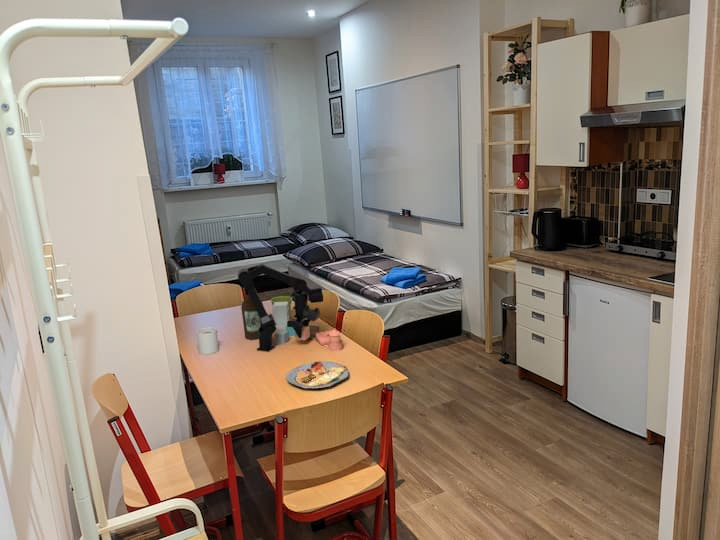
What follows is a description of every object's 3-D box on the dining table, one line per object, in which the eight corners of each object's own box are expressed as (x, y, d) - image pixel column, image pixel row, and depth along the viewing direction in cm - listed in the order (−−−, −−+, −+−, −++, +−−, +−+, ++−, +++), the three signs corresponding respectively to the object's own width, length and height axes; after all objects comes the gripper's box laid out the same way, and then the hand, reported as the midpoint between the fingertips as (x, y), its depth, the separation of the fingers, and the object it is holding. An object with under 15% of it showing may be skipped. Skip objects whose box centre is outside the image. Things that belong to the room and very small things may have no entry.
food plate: (318, 361, 238) (318, 353, 237) (360, 374, 224) (360, 366, 223) (275, 382, 220) (274, 374, 219) (317, 398, 205) (317, 390, 204)
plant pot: (270, 317, 302) (268, 297, 300) (291, 314, 306) (290, 295, 303) (273, 323, 291) (272, 303, 289) (295, 320, 295) (294, 300, 292)
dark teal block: (295, 336, 270) (294, 327, 269) (286, 335, 272) (285, 326, 271) (299, 333, 275) (299, 324, 274) (290, 332, 277) (290, 323, 275)
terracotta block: (305, 340, 256) (304, 330, 255) (295, 339, 257) (295, 329, 256) (309, 336, 260) (309, 326, 259) (300, 335, 262) (299, 325, 261)
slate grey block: (284, 344, 260) (283, 334, 259) (275, 343, 262) (274, 333, 261) (289, 341, 265) (288, 331, 264) (280, 340, 267) (279, 330, 265)
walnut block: (315, 338, 266) (315, 329, 265) (306, 338, 268) (305, 328, 267) (319, 335, 271) (319, 325, 270) (310, 334, 273) (310, 325, 272)
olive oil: (244, 334, 277) (240, 285, 271) (265, 332, 278) (262, 284, 272) (243, 341, 266) (238, 291, 261) (265, 339, 268) (261, 289, 262)
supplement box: (288, 329, 282) (286, 305, 279) (273, 329, 282) (271, 305, 279) (290, 324, 289) (288, 301, 286) (276, 324, 289) (274, 301, 286)
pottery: (315, 341, 264) (314, 321, 262) (334, 338, 267) (333, 318, 265) (327, 353, 247) (326, 332, 245) (347, 350, 251) (346, 329, 248)
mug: (213, 355, 250) (211, 334, 247) (194, 354, 252) (191, 333, 249) (223, 346, 260) (221, 326, 258) (205, 345, 262) (203, 325, 260)
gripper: (307, 311, 244) (309, 344, 247) (325, 299, 261) (326, 331, 264) (285, 309, 248) (287, 342, 251) (303, 298, 265) (305, 329, 268)
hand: (302, 335), depth 259 cm, fingers closed on terracotta block, 5 cm apart
